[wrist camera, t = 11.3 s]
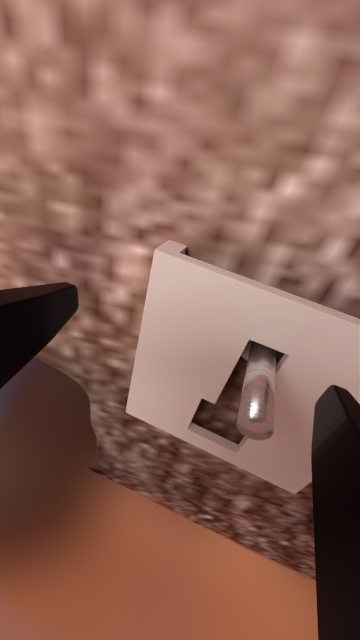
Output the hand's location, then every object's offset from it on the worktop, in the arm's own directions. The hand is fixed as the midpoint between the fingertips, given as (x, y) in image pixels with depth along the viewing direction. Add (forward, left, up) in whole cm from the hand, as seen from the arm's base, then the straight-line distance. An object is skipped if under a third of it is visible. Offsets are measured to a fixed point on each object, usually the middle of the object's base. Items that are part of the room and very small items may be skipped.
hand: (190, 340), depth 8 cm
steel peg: (-5, +7, -12) cm, 14 cm away
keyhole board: (-5, +11, -12) cm, 17 cm away
